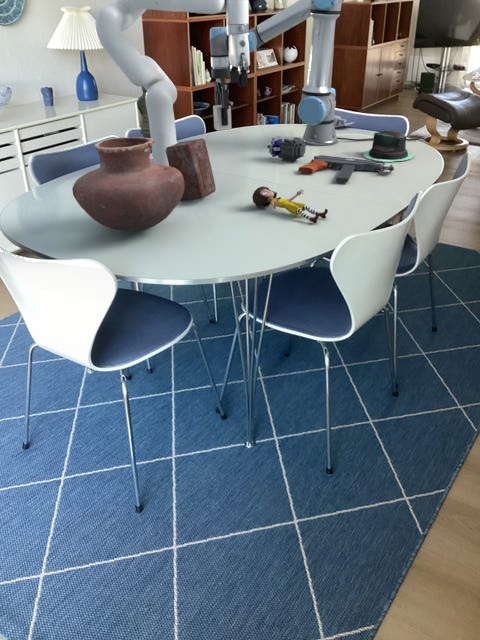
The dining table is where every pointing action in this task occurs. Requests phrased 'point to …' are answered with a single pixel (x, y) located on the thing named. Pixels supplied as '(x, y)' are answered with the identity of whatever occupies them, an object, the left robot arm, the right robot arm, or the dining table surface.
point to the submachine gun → (343, 166)
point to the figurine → (284, 203)
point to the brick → (218, 119)
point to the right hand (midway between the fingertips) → (222, 124)
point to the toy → (287, 148)
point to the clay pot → (128, 186)
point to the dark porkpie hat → (388, 147)
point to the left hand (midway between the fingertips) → (238, 84)
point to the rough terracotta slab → (192, 168)
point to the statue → (144, 115)
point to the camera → (338, 120)
